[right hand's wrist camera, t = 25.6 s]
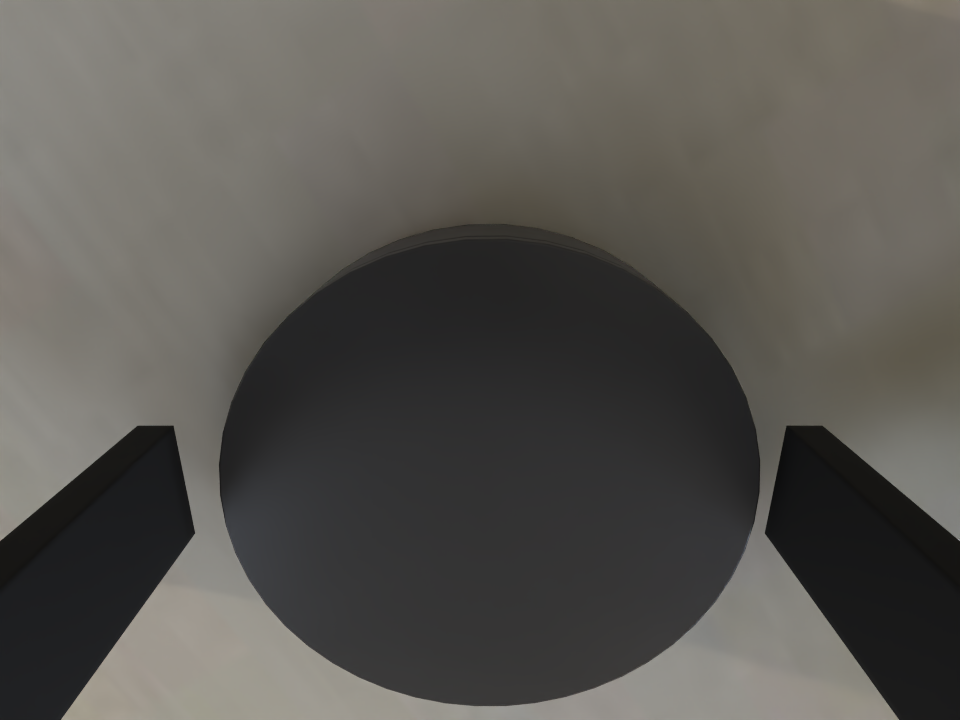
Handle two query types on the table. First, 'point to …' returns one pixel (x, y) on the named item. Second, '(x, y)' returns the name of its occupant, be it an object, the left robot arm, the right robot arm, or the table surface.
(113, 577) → the right robot arm
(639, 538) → the lid
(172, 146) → the table surface
